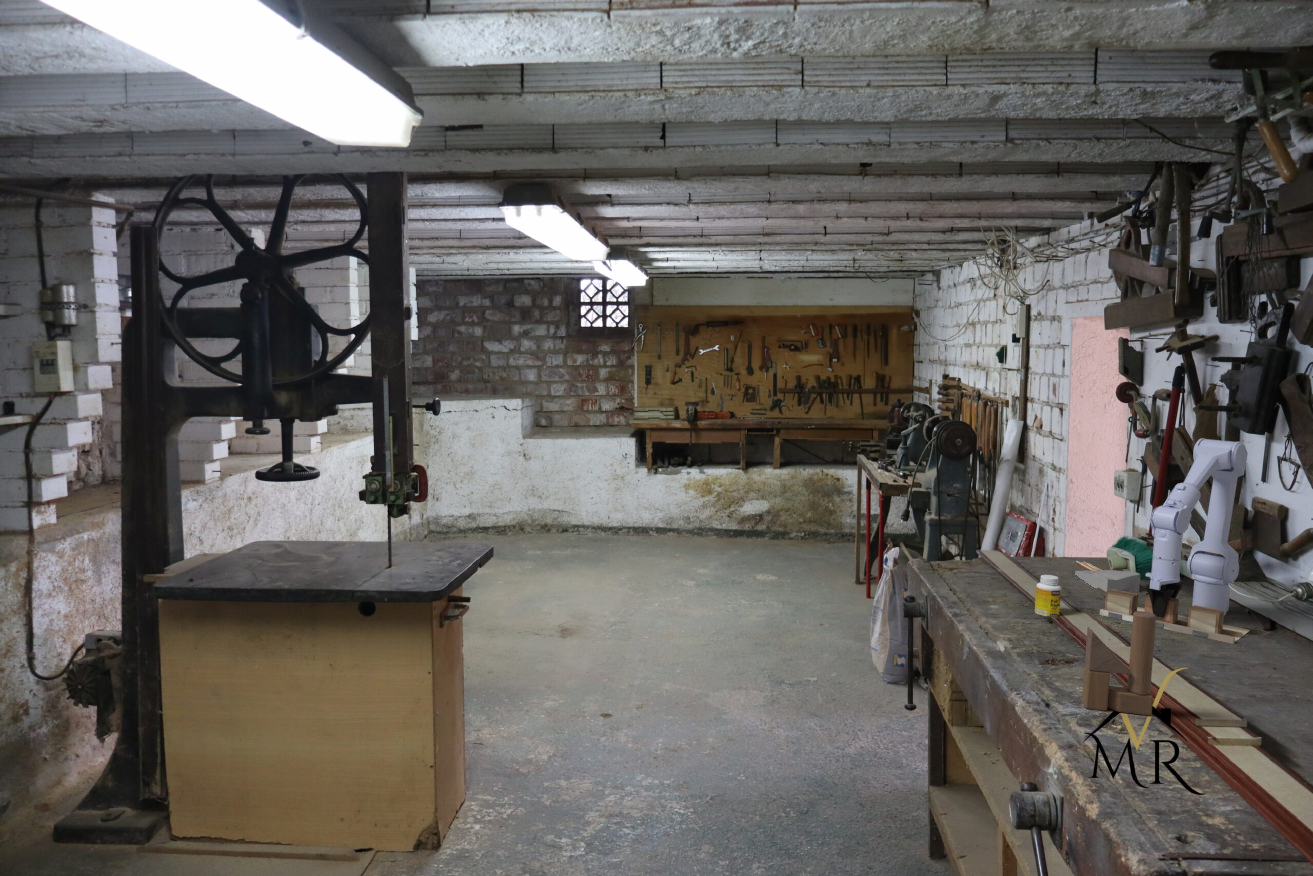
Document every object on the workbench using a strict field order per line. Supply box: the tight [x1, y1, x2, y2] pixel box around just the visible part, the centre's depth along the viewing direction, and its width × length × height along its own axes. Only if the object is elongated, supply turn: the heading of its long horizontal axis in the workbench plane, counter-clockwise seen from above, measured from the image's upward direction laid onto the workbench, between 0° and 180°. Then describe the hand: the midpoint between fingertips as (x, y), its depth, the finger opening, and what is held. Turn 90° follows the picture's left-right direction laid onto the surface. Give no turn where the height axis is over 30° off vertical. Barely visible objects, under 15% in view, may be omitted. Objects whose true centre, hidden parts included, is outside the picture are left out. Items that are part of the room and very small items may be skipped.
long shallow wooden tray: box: [1099, 606, 1251, 645], centre depth 212 cm, size 15×28×2 cm, turn 44°
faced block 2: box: [1187, 605, 1225, 634], centre depth 204 cm, size 4×6×6 cm
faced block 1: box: [1104, 589, 1139, 616], centre depth 216 cm, size 4×6×6 cm
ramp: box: [1074, 569, 1141, 593], centre depth 250 cm, size 28×16×5 cm, turn 156°
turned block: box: [1144, 594, 1180, 624], centre depth 210 cm, size 4×6×6 cm
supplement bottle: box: [1034, 574, 1062, 618], centre depth 216 cm, size 6×6×10 cm
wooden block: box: [1081, 611, 1156, 716], centre depth 160 cm, size 4×11×18 cm, turn 76°
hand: (1162, 614), depth 210 cm, fingers closed on turned block, 4 cm apart
